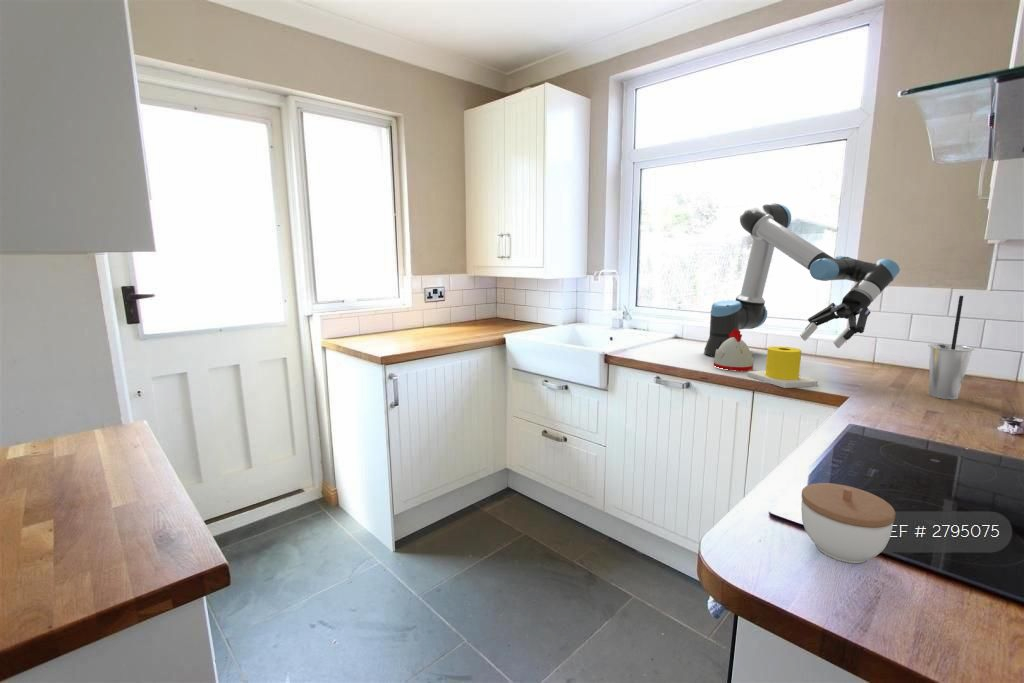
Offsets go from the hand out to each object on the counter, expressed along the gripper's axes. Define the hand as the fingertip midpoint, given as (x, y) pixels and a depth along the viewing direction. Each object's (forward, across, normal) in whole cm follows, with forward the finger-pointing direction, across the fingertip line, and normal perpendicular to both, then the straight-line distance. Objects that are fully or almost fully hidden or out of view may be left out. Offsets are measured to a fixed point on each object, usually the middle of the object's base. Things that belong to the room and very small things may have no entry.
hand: (818, 341), depth 161 cm
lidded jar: (+64, -83, +47) cm, 115 cm away
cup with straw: (-5, -27, -23) cm, 36 cm away
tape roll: (+17, +1, +1) cm, 17 cm away
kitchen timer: (+20, +23, +1) cm, 31 cm away
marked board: (+18, +1, 0) cm, 18 cm away
